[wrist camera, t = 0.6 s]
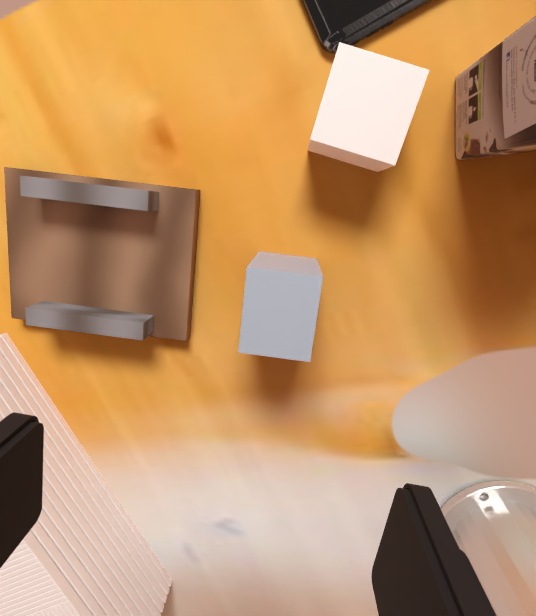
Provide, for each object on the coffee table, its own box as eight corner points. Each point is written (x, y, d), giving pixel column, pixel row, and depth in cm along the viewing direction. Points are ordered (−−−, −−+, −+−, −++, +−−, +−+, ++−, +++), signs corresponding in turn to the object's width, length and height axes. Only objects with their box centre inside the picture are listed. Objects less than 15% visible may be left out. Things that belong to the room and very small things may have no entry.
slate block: (316, 258, 35) (323, 276, 26) (306, 324, 37) (310, 362, 28) (259, 251, 35) (246, 267, 27) (251, 317, 37) (238, 352, 28)
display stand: (200, 190, 34) (188, 188, 30) (190, 335, 38) (178, 350, 34) (16, 168, 35) (-19, 164, 31) (22, 313, 38) (-9, 326, 34)
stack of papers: (173, 579, 45) (136, 691, 35) (94, 607, 47) (37, 722, 37) (7, 331, 39) (-98, 378, 29) (-75, 375, 41) (-202, 434, 30)
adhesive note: (377, 172, 33) (395, 166, 27) (307, 150, 33) (309, 139, 27) (405, 94, 32) (429, 69, 26) (331, 71, 31) (339, 41, 26)
